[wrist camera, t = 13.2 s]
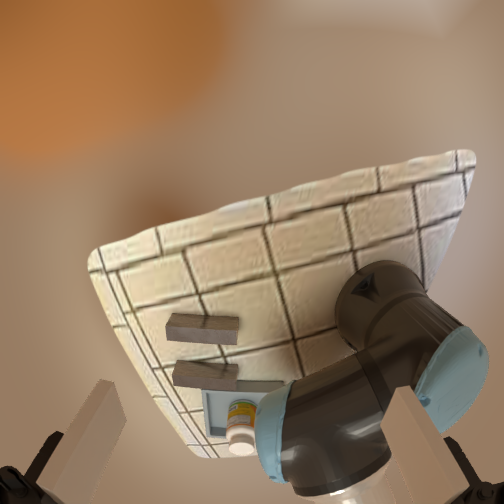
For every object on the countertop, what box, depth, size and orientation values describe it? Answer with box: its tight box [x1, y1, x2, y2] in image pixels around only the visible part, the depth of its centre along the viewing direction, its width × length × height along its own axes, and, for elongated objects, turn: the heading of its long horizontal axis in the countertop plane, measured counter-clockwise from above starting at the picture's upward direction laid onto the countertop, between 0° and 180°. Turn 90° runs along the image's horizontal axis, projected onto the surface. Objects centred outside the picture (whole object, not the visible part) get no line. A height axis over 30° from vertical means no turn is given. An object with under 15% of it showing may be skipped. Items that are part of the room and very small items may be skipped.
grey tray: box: [201, 380, 283, 439], centre depth 45 cm, size 13×13×3 cm
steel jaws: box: [165, 313, 238, 391], centre depth 41 cm, size 10×11×4 cm
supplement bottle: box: [226, 400, 257, 455], centre depth 41 cm, size 5×5×10 cm
